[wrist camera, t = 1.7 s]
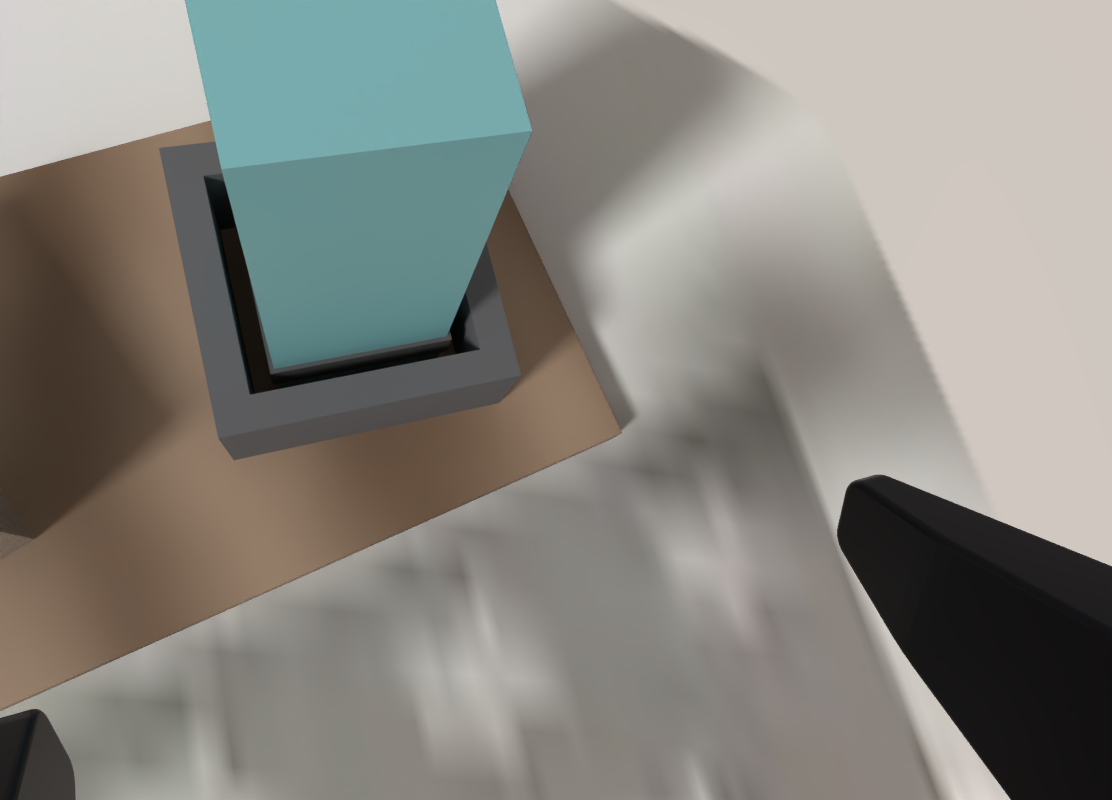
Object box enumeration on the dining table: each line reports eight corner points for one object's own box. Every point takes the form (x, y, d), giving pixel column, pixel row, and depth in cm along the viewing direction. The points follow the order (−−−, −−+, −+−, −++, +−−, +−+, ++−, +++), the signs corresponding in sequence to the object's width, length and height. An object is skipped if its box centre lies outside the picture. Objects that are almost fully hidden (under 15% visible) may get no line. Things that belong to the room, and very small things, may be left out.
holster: (498, 403, 23) (521, 375, 20) (234, 460, 21) (218, 438, 18) (438, 171, 24) (452, 114, 21) (181, 205, 22) (158, 148, 19)
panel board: (443, 73, 26) (446, 57, 25) (613, 438, 25) (622, 432, 24) (-591, 356, 18) (-631, 345, 18) (-424, 900, 17) (-459, 913, 16)
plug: (439, 366, 23) (541, 136, 12) (277, 399, 22) (214, 178, 10) (403, 220, 24) (466, -130, 12) (244, 244, 22) (150, -121, 11)
